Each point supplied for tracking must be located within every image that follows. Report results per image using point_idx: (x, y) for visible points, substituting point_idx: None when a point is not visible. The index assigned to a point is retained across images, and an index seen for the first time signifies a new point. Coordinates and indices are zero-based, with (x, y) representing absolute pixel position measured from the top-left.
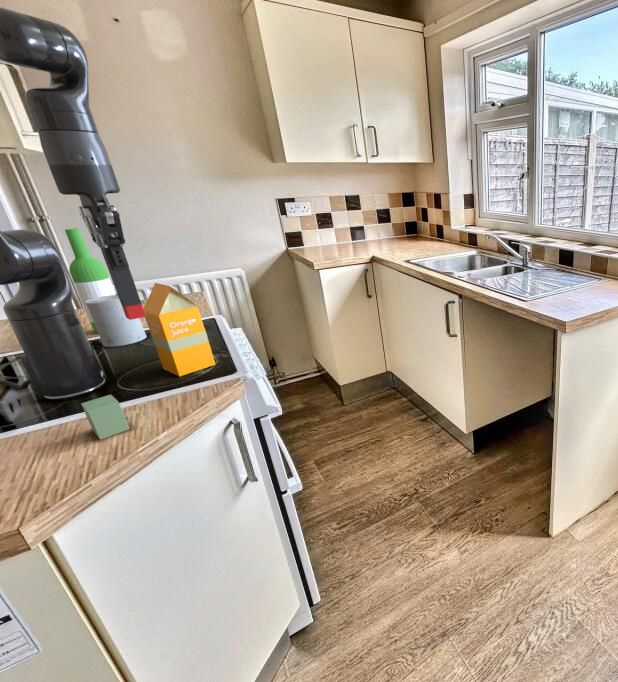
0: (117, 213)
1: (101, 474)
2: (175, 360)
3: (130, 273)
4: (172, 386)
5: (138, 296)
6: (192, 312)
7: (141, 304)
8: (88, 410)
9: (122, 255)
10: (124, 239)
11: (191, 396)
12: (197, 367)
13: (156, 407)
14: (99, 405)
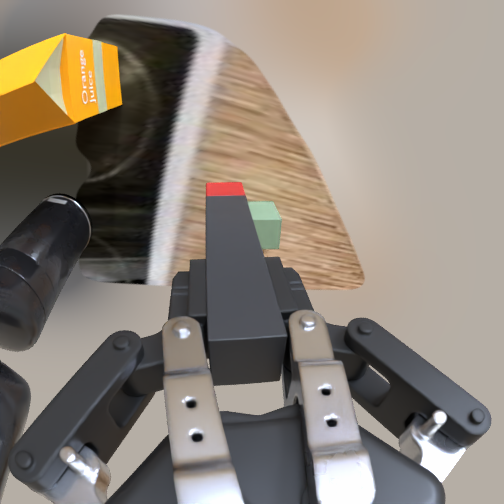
0: (489, 418)
1: (351, 240)
2: (113, 106)
3: (259, 242)
4: (159, 123)
5: (248, 205)
6: (72, 50)
7: (244, 195)
8: (275, 247)
9: (306, 296)
10: (371, 328)
11: (235, 116)
12: (117, 75)
13: (229, 161)
14: (270, 236)
